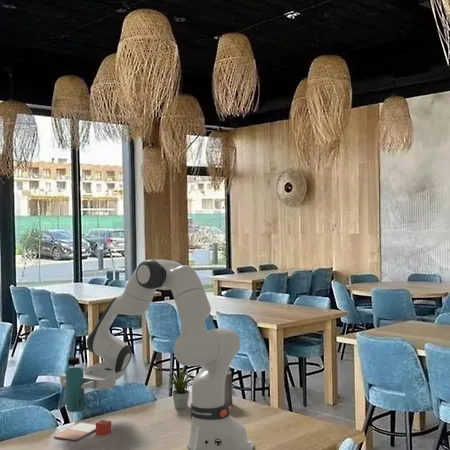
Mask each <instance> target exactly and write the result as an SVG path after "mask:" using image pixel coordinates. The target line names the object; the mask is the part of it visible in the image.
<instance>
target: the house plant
mask: <svg viewBox="0 0 450 450" xmlns="http://www.w3.org/2000/svg"><path fill="white" fill-rule="evenodd" d="M188 371H189V369H186V370H185V369H184V368H181V367H179V370H178V375H177V373H176V372H175V371H173V370H172V371H171V372H172V373H170V372H169V374H168V373H167V374H164V375H165V376H166V375H168V376H169V377H170V378H171V379H170V380H168V382H170V383H171V384H169V386H168V388H169V389H171V388H174V390H173V391H171V392H172V399H173V405H174V408H175V409H180V410H182V408H183V409H186V407H188V404H189V397H190V390H187V389H188V387H189V386H191V387H192V382H191V381H193V379H194V377H195V376H196V375H197V374H196V373H195V374H194V372H195V370H194V371H191V372H190V373H189V374H188V375H187V376H185V375H186V374H187V373H188ZM194 375H195V376H194Z"/></svg>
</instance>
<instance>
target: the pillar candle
mask: <svg viewBox="0 0 450 450" xmlns="http://www.w3.org/2000/svg"><path fill="white" fill-rule="evenodd" d="M232 374H233V372H232V371H231V370H229V369H228V371H227V375H226V379H225V395H224V402H225V404H226V405H227V406H228V407H229V406H231V407H232V406H233V379H232V377H233V375H232Z"/></svg>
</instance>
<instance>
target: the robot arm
mask: <svg viewBox="0 0 450 450" xmlns="http://www.w3.org/2000/svg"><path fill="white" fill-rule="evenodd" d="M157 290H162V291H171V293H172V296H173V299H174V302H175V306H176V308H177V312H178V315H179V318H180V333H179V336H178V337H177V339H176V341H175V343H174V345H173V346H174V348H173V354H174V357H175V359H176V361H177V362H178V363H179V364H180V365H182V366H187V367H198V366H201V368H200V369H199V372H198V373H197V374H196V375H195V376H194V377H193V378H194V379H193V380H192V383H191V384H192V385H191V403H190V420H191V425H190V432H189V436H188V437H189V438H188V441H187V448H188V449H189V450H254V448H255V445H254V444H255V443H254V441H253V440H250V439H248V435H247V430H246V428H245V426H244V425H242V424H241V423H240V422H238V420H237V419H235V418H234V417H233V416H232V415H231V413H230V411H231V410H232V405H231V406H229V407H228V406H227V405H226V404H225V402H224V395H225V379H226V375H227V371H228V370H229V368H230V365H231V363H232V361H233V359H234V358H235V357H236V355H237V354H238V353H239V351H240V348H241V340H240V337H239V335H238V333H237V332H236V331H235V330H233V329H232V328H220V327H219V328H214V329H212V328H211V329H207V326H206V320H207V319H208V317H209V316H210V314H211V312H212V307H211V304H210V302H209V299H208V297H207V293H206V291H205V289H204V285H203V284H202V281H201V279H200V276H199V275H198V273H197V272H196V271H195V269H194V268H193V267H192V266H190V265H187V264H186V263H184V262H182V261H179V260H175V261H174V260H170V259H169V260H168V259H145V260H143V261H141V262H140V263H139V264H138V266H137V267H136V268H135V270H134V271H133V273H132V274H131V276H130V278H129V279H128V282H127V283H126V286H125V288H124V291H123V292H122V294H121V295H117V296H115V297H114V298H112V300H111V301H110V302H109V304H108V306H107V307H106V309H105V310H104V312H103V313H102V315H101V317H100V319H99V321H98V322H97V324H96V325H95V327H94V328H93V330H92V331H91V332H90V333H89V335H88V336H87V338H86V347H87V350H88V351H89V352H90V353H92V354H94V355H96V356H98V357H99V358H101V359H102V360H103V361H101V362H98V363H95V364H93V365H90V366H87V368H86V369H85V371H83V379H84V383H83V384H81V389H84V390H86V389H91V390H108V389H110V388H111V389H113V388H114V387H116V381H118V380H119V379H121V378H122V377H123V376H124V375H125V373H126V371H127V367H128V366H129V363H130V362H131V359H132V348H131V346H130V345H129V344H128V343H127V342H125V341H124V340H122V339H120V338H118V337H116V336H115V335H113V334H111V332H110V328H111V326H112V324H113V323H114V321H115V319H116V317H118V315H124V316H139V315H142V314H144V313H146V312H147V311H148V310H149V308H150V306H151V304H152V302H153V299H154V296H155V294H156V291H157ZM59 381H60V382H59V383H60V385H62V387H64V388H66V373H62V374H61V375H60V377H59Z"/></svg>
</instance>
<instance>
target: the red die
mask: <svg viewBox="0 0 450 450" xmlns="http://www.w3.org/2000/svg"><path fill="white" fill-rule="evenodd" d="M95 424H96V431H95V435H97V436H104V437H105V436H108V435H109V434H111V433H112V420H105V419H101V420H99V421H98V422H96V423H95Z"/></svg>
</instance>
